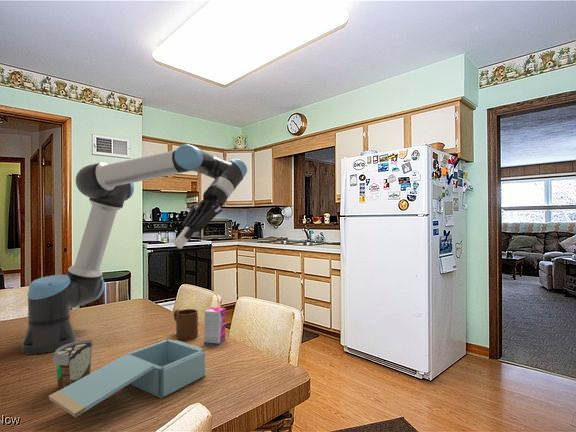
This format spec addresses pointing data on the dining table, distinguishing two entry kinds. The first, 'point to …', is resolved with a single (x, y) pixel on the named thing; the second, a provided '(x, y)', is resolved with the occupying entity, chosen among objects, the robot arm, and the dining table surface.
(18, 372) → the dining table surface
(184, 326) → the mug
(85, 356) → the food container
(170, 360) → the carton
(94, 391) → the flap
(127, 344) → the dining table surface
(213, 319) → the supplement box
